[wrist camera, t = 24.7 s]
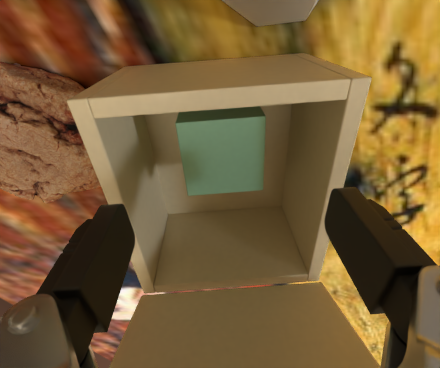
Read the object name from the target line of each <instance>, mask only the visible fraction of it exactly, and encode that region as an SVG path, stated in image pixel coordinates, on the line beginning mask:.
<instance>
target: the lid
mask: <svg viewBox="0 0 440 368" xmlns="http://www.w3.org/2000/svg"><path fill="white" fill-rule="evenodd" d="M109 368H381V367H380V366H379V364H378V363H377V361H376V360H375V358H374V357H373V356H372V354H371V353H370V351H369V350H368V348H367V347H366V346H365V344H364V343H363V341H362V340H361V338H360V337H359V336H358V334H357V333H356V331H355V330H354V328H353V327H352V325H351V324H350V323H349V321H348V320H347V318H346V317H345V315H344V314H343V313H342V311H341V310H340V308H339V307H338V305H337V304H336V302H335V301H334V300H333V298H332V297H331V295H330V294H329V292H328V291H327V290H326V288H325V287H324V285H323V284H322V283H321V282H319V283H306V284H292V285H279V286H265V287H251V288H238V289H224V290H211V291H197V292H183V293H170V294H156V295H143V296H141V299H140V301H139V303H138V305H137V307H136V310H135V312H134V314H133V316H132V318H131V320H130V323H129V325H128V327H127V329H126V331H125V334H124V336H123V338H122V340H121V342H120V345H119V347H118V349H117V351H116V353H115V356H114V358H113V360H112V362H111V364H110V366H109Z"/></svg>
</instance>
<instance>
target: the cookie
mask: <svg viewBox="0 0 440 368" xmlns="http://www.w3.org/2000/svg"><path fill="white" fill-rule="evenodd" d="M84 90H86V89H85V88H83V86H82V85H80V84H79V83H77V82H75V81H73V80H72V79H70V78H69V77H67V78H66V77H61V76H60V75H58V74H54V73H49V72H46V71H44V70H42V69H37V68H31V67H23V66H20V64H18V63H15V64H8V63H4V62H0V189H3V190H4V191H7V192H9V193H11V194H14V195H15V196H18V197H20V198H26V199H29V200H31V199H34V196H35V195H37V196H40V197H39V198H41V199H42V200H43V202H45V203H51V202H54V201H56V200H58V199H59V198H61V197H62V196H63V195H64V194H66V193H70V192H78V191H85V190H87V189H88V190H90V189H92V188H97V187H100V186H101V185H100V182H99V180H98V177H97V175H96V173H95V170H94V168H93V165H92V163H91V160H90V158H89V155H88V153H87V150H86V148H85V145H84V143H83V140H82V138H81V135H80V133H79V130H78V128H77V125H76V123H75V120H74V118H73V116H72V113H71V111H70V108H69V106H68V103H67V100H68V99H70V98H72V97H74V96H75V95H77V94H79V93H80V92H82V91H84Z"/></svg>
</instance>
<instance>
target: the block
mask: <svg viewBox="0 0 440 368" xmlns="http://www.w3.org/2000/svg"><path fill="white" fill-rule="evenodd" d="M175 125H176V131H177V137H178V143H179V148H180V154H181V160H182V165H183V171H184V177H185V183H186V188H187V194H188V196H194V195H206V194H219V193H232V192H245V191H258V190H263V182H264V156H265V129H266V116H265V114H264V112H263V111H262V109H261V107H260V106H256V107H243V108H229V109H216V110H203V111H189V112H179V113H178V116H177V120H176V123H175Z"/></svg>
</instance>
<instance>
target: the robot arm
mask: <svg viewBox="0 0 440 368" xmlns="http://www.w3.org/2000/svg"><path fill="white" fill-rule="evenodd" d="M324 224H325V230H326V233H327V235H328V237H329V239H330V241H331V242H332V244H333V246H334V248H335V250H336V252H337V253H338V255H339V257H340V259H341V261H342V263H343V264H344V266H345V268H346V270H347V272H348V274H349V275H350V277H351V279H352V281H353V283H354V285H355V286H356V288H357V290H358V292H359V294H360V296H361V297H362V299H363V301H364V303H365V305H366V307H367V308H368V310H369V312H370V314H380V313H385V314H386V316H387V318H388V319H389V322H388V324H387V327H386V334H385V341H384V347H383V354H382V361H381V368H440V266H438V265H437V264H436V263H435V262H434V261H433V260H432V259H431V258H430V257H429V256H428V255H427V254H426V252H425V251H424V250H423V249H422V248H421V247H420V246H419V245H418V244H417V243H416V242H415V240H414V239H413V238H412V237H411V236H410V235H409V234H408V233H407V232H406V231H405V230H404V229H402V226H401V225H400V224H399V223H398V222H397V221H396V220H394V218H393V217H392V216H391V214H390V213H389V212H388V211H387V210H386V209H385V208H384V207H382V206H381V205H379V204H377V203H376V202H374V201H373V200H371V199H368V200H367V199H366V198H365V197H364V196H363V195H362V194H361V192H360V191H359V190H358V189H357V188H355V187H348V188H334V189H333V190H332V191H331V194H330V198H329V202H328V206H327V211H326V215H325V220H324ZM134 246H135V234H134V230H133V227H132V225H131V222H130V219H129V216H128V213H127V211H126V208H125V206H124V205H123V204H108V205H101V206H100V207H99V209H98V210H97V212H96V214H95V216H94V217H93V219H88V220H86V221H85V222H84V223H83V224H82V225H81V226H80V227H78V228H77V229H76V231H75V232H74V234H73V235H72V237H71V239H70V240H69V243H68V244H67V245H66V247H65V248H64V250H63V253H61V255H60V256H59V258H58V260H57V261H56V263H55V264H54V266H53V268H52V269H51V271H50V272H49V274H48V276H47V277H46V279H45V281H44V282H43V284H42V285H41V287H40V289H39V290H38V292H37V293H36V295H32V296H30V297H27V298H25V299H23V300H21V301H19V302H18V303H16V304H15V305H14V306H12V307H11V308H10V309H9V310H8V311H7V312H6V313H5V314H4V315H3V316H2V317H1V318H0V368H98V365H97V362H96V359H95V356H94V354H93V350H92V348H91V346H90V342H91V339H92V337H93V334H94V333H99V332H107V331H108V328H109V324H110V321H111V318H112V315H113V312H114V309H115V306H116V303H117V300H118V296H119V293H120V290H121V287H122V284H123V281H124V278H125V275H126V271H127V268H128V265H129V262H130V259H131V256H132V253H133V250H134Z"/></svg>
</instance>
